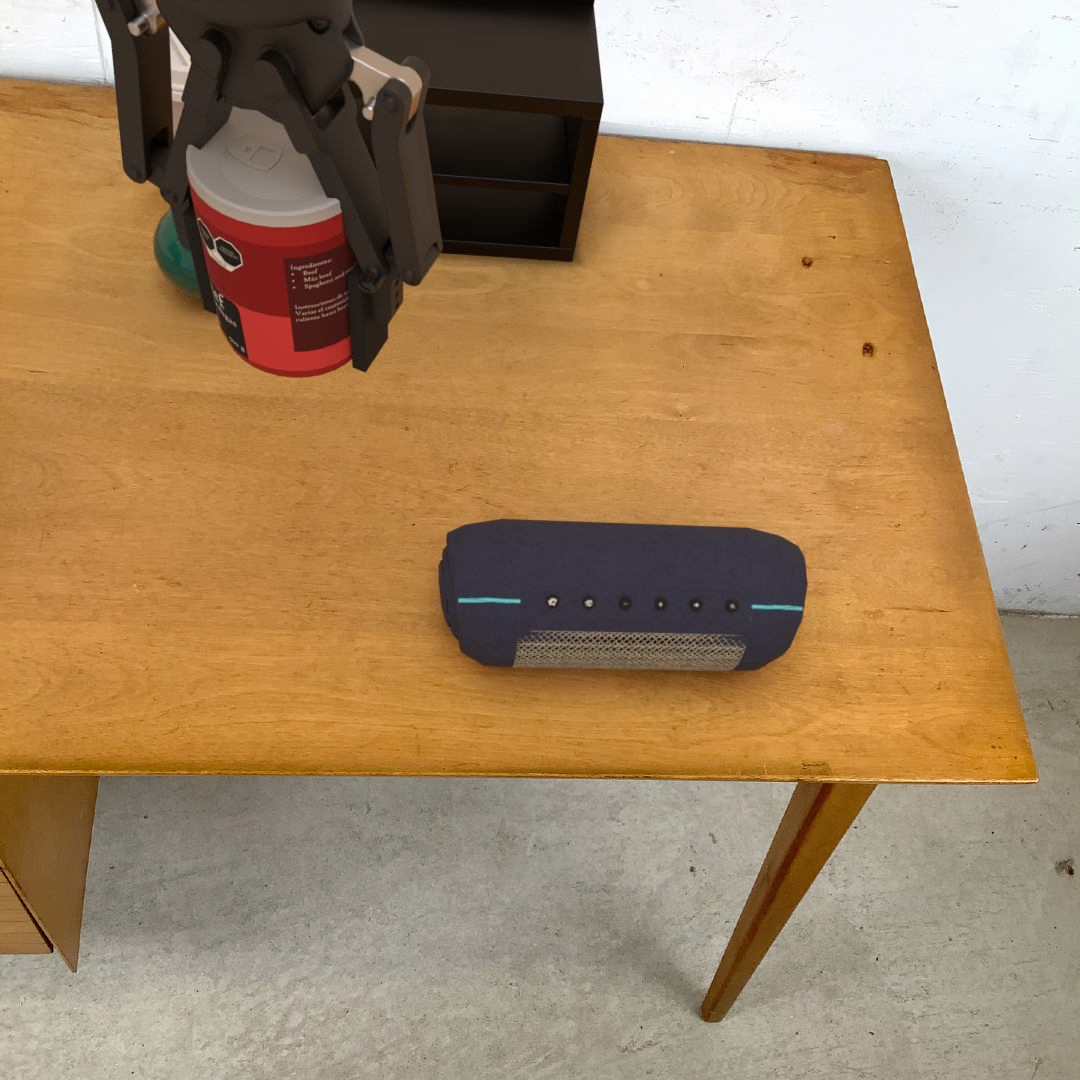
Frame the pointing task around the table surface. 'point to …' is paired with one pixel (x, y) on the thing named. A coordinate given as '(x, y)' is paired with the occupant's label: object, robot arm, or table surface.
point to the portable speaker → (621, 595)
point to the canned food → (272, 249)
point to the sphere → (174, 258)
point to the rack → (499, 115)
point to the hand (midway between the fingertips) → (296, 323)
